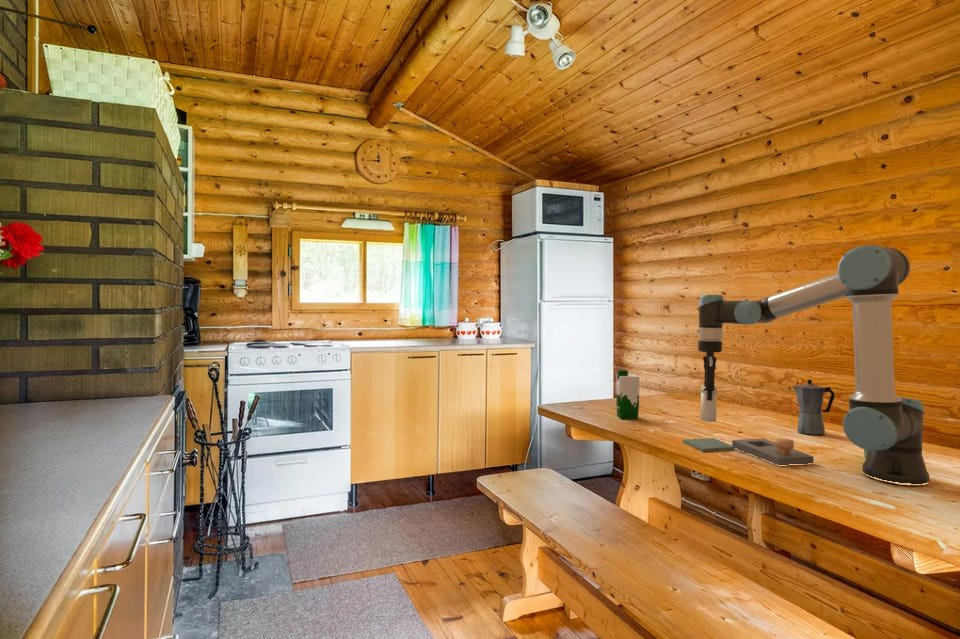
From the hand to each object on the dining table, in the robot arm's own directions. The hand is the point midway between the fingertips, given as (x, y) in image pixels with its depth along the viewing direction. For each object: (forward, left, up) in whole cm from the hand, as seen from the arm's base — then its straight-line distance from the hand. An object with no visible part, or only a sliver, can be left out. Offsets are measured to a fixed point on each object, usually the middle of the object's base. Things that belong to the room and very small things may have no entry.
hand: (708, 407), depth 189 cm
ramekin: (-26, -42, -14) cm, 51 cm away
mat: (0, 0, -13) cm, 13 cm away
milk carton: (+47, +7, -13) cm, 49 cm away
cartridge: (0, 0, -4) cm, 4 cm away
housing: (-14, -13, -13) cm, 23 cm away
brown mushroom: (-20, -13, -13) cm, 27 cm away
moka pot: (+9, -49, -13) cm, 52 cm away
